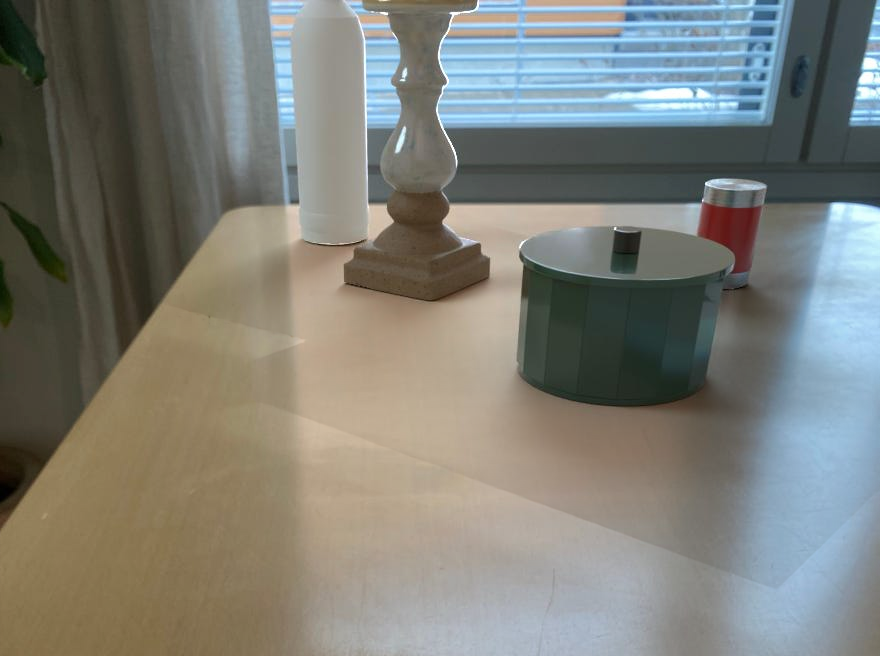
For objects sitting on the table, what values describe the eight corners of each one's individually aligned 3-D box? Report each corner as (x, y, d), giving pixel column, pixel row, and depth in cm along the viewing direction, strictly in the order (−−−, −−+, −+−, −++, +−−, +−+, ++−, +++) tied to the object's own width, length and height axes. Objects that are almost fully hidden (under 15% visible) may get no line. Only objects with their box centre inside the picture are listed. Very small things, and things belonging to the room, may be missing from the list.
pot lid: (589, 232, 82) (593, 197, 80) (767, 264, 73) (776, 226, 72) (476, 270, 72) (478, 231, 70) (667, 312, 64) (673, 269, 62)
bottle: (382, 240, 112) (379, -87, 94) (323, 249, 108) (308, -88, 91) (345, 226, 117) (336, -85, 100) (288, 235, 113) (267, -86, 96)
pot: (581, 329, 86) (592, 226, 81) (737, 367, 78) (760, 256, 73) (481, 374, 77) (486, 261, 72) (646, 422, 69) (665, 299, 64)
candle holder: (404, 259, 105) (405, -8, 91) (492, 275, 99) (506, -5, 86) (341, 283, 97) (331, -4, 84) (432, 301, 92) (438, -1, 78)
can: (736, 273, 100) (754, 178, 95) (756, 289, 96) (777, 189, 90) (681, 274, 100) (697, 178, 95) (699, 290, 95) (716, 190, 90)
